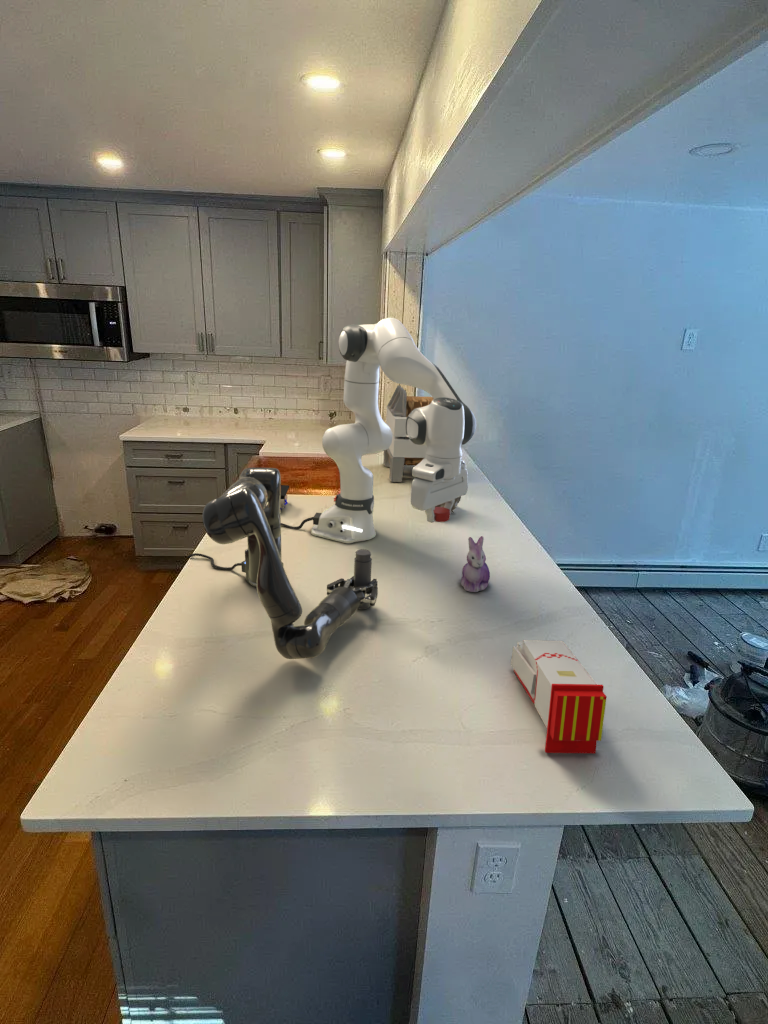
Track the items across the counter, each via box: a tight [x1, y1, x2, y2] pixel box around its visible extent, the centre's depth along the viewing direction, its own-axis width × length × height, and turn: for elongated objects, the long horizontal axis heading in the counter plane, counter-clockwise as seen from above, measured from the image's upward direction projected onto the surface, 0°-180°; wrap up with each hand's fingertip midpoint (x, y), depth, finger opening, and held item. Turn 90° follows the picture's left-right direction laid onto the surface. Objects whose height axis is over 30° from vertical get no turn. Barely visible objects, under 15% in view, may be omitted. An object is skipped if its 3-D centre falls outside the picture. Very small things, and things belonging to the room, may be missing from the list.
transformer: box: [383, 384, 463, 483], centre depth 268 cm, size 34×33×41 cm
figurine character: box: [267, 484, 290, 513], centre depth 219 cm, size 7×8×15 cm
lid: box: [433, 507, 451, 523], centre depth 144 cm, size 5×5×2 cm
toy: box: [510, 639, 607, 754], centre depth 114 cm, size 12×13×30 cm
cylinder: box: [353, 548, 373, 610], centre depth 148 cm, size 4×4×16 cm
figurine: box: [460, 535, 491, 593], centre depth 162 cm, size 9×10×15 cm
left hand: (366, 580), depth 151 cm, fingers closed on cylinder, 4 cm apart
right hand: (438, 518), depth 144 cm, fingers closed on lid, 5 cm apart
